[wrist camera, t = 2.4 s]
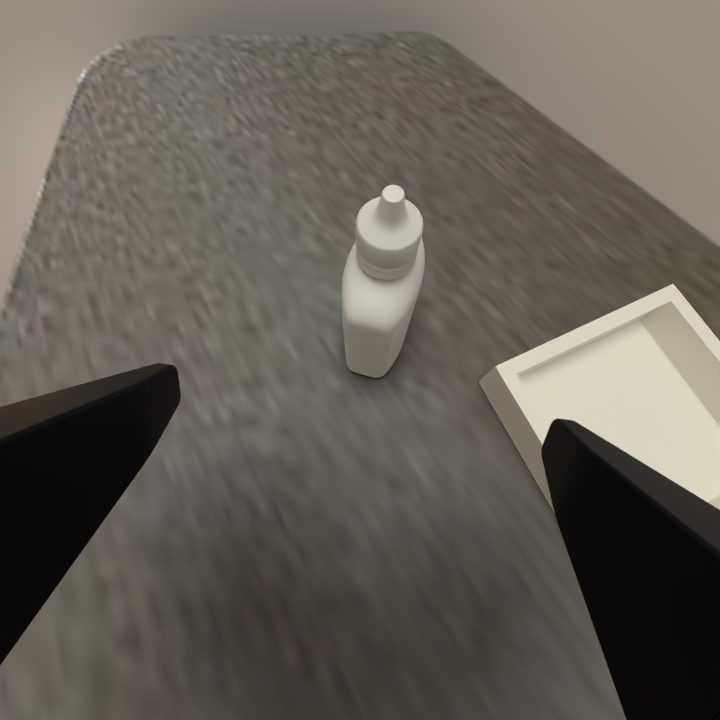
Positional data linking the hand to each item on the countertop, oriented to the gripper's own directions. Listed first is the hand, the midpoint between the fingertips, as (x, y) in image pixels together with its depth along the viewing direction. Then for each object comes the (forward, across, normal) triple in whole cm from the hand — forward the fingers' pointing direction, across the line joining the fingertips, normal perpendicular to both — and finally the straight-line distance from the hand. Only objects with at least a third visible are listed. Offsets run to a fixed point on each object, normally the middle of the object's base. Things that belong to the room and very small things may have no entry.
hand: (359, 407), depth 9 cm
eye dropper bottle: (+14, 0, +4) cm, 15 cm away
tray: (+12, -14, +7) cm, 20 cm away
